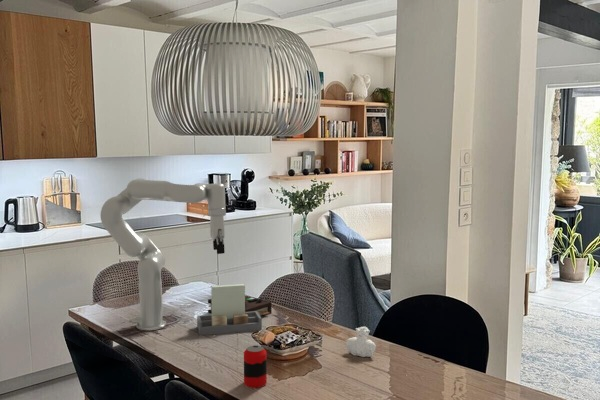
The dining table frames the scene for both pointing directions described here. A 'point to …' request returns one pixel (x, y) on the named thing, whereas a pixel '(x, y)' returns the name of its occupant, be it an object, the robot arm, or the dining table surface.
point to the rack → (228, 324)
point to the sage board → (228, 300)
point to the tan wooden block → (240, 319)
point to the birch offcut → (219, 320)
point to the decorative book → (253, 305)
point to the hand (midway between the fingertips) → (218, 251)
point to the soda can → (255, 367)
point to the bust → (361, 344)
